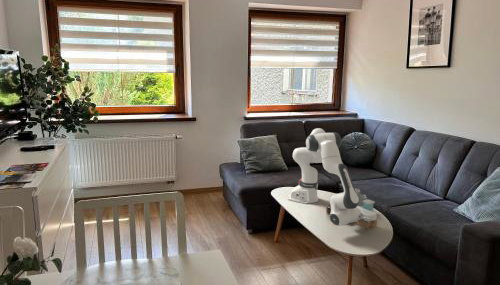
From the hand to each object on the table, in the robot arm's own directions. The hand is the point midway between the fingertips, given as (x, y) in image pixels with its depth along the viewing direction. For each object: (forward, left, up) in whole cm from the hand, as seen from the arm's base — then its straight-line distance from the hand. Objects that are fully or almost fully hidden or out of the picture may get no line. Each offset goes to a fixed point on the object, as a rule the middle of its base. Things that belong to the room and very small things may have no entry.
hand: (369, 209), depth 224 cm
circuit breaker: (-9, +20, -11) cm, 24 cm away
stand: (-1, -1, -11) cm, 11 cm away
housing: (-1, -1, -7) cm, 7 cm away
